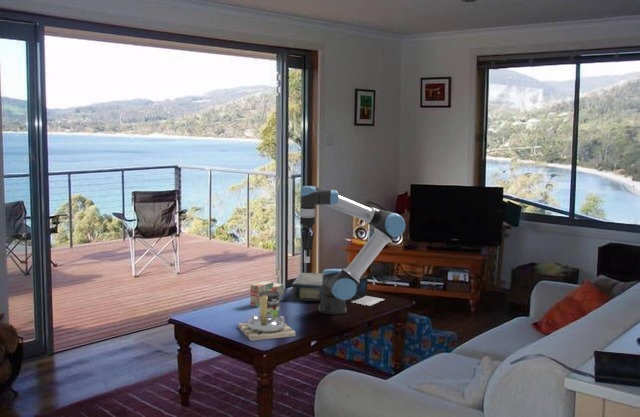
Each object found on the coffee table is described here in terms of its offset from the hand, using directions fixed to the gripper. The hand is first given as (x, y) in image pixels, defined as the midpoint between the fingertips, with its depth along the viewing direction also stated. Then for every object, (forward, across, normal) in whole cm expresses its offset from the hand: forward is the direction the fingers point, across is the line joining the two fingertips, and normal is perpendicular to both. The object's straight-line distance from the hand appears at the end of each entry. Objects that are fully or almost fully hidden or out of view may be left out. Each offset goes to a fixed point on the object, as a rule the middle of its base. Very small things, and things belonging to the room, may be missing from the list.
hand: (306, 262), depth 339 cm
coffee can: (+31, -6, -18) cm, 36 cm away
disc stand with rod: (+28, +12, -25) cm, 39 cm away
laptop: (+31, -24, +47) cm, 62 cm away
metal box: (+31, -49, +23) cm, 63 cm away
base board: (+30, +12, -25) cm, 41 cm away
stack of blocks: (+31, -39, -9) cm, 50 cm away
